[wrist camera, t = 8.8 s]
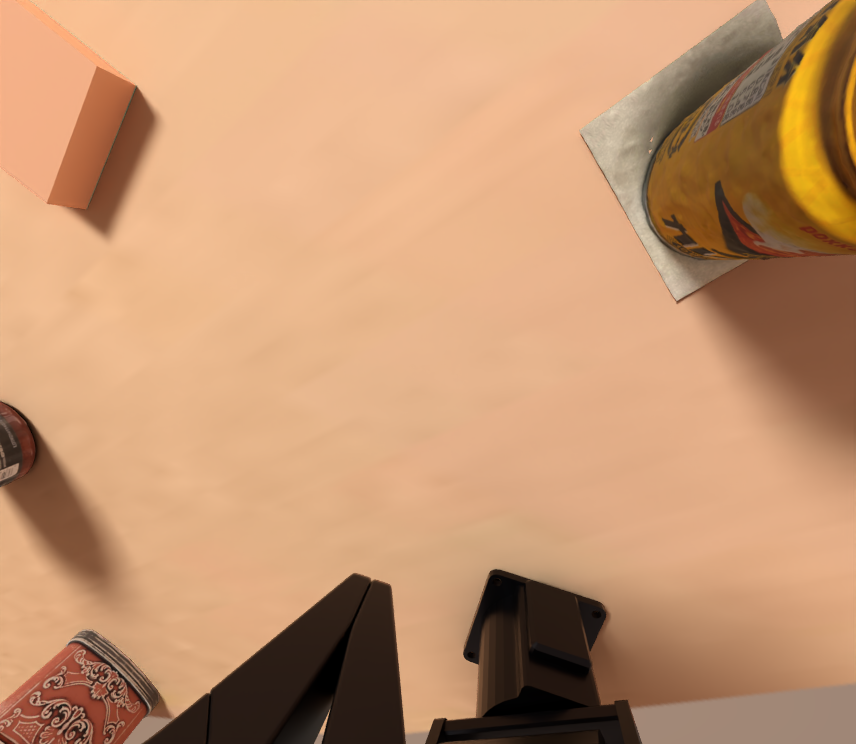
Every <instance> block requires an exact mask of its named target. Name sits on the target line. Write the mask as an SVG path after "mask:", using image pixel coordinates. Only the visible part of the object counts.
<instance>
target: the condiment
mask: <svg viewBox="0 0 856 744" xmlns="http://www.w3.org/2000/svg"><path fill="white" fill-rule="evenodd" d="M579 131H580V133H581V135H582V136H583V138H584V140H585V142H586V143H587V145H588V146H589V148H590V150H591V152H592V154H593V156H594V158H595V160H596V161H597V163H598V165H599V166H600V168H601V169H602V171H603V172H604V174H605V176H606V178H607V180H608V182H609V183H610V185H611V187H612V189H613V191H614V192H615V194H616V196H617V198H618V200H619V202H620V203H621V205H622V207H623V209H624V211H625V212H626V214H627V216H628V218H629V220H630V222H631V224H632V226H633V227H634V229H635V231H636V233H637V234H638V236H639V238H640V240H641V241H642V243H643V245H644V247H645V248H646V250H647V252H648V254H649V255H650V257H651V259H652V261H653V263H654V264H655V266H656V268H657V270H658V271H659V273H660V274H661V276H662V278H663V280H664V282H665V283H666V285H667V287H668V289H669V290H670V292H671V294H672V295H673V297H674V298H675V299H676V301H678V300H680V299H681V298H683V297H685V296H686V295H688V294H690V293H692V292H694V291H695V290H697V289H699V288H701V287H702V286H704V285H706V284H707V283H709V282H711V281H713V280H715V279H716V278H718V277H719V276H721V275H723V274H725V273H727V272H728V271H730V270H732V269H733V268H735V267H737V266H739V265H741V264H743V263H744V262H746V261H748V260H749V259H763V260H765V259H770V258H780V257H805V256H831V255H856V0H832V1H831V2H829V3H828V4H826V5H825V6H824V7H823V8H822V9H821V10H820V11H818V12H816V13H815V14H814V15H813V16H812V17H810V18H809V19H808V20H806V21H805V22H804V23H803V24H801V25H799V26H798V27H797V28H796V29H795V30H794V31H793V32H792V33H791V34H789V35H788V36H787V37H786V38H785V39H784V40H783V39H782V36H781V33H780V30H779V27H778V24H777V21H776V19H775V17H774V15H773V14H772V12H771V10H770V8H769V6H768V4H767V2H766V0H756V1H755V2H753V3H752V4H751V5H749V6H748V7H746V8H745V9H744V10H742V11H741V12H740V13H739V14H737V15H736V16H735V17H733V18H732V19H731V20H729V21H728V22H727V23H725V24H724V25H723V26H721V27H720V28H719V29H717V30H716V31H714V32H713V33H712V34H710V35H709V36H708V37H706V38H705V39H704V40H702V41H701V42H700V43H698V44H697V45H695V46H694V47H693V48H691V49H690V50H689V51H687V52H686V53H685V54H683V55H682V56H681V57H680V58H678V59H677V60H675V61H674V62H672V63H671V64H670V65H668V66H667V67H666V68H664V69H663V70H661V71H660V72H659V73H657V74H656V75H655V76H653V77H652V78H651V79H650V80H649V81H647V82H645V83H644V84H642V85H641V86H640V87H638V88H637V89H635V90H634V91H633V92H632V93H630V94H628V95H627V96H626V97H624V98H623V99H622V100H620V101H619V102H618V103H616V104H615V105H614V106H612V107H611V108H610V109H608V110H607V111H606V112H604V113H602V114H601V115H600V116H598V117H597V118H595V119H594V120H593V121H591V122H590V123H589V124H587V125H586V126H585V127H583V128H582V129H580V130H579ZM652 137H653V141H652V142H650V140H651V138H652ZM651 149H652V151H651V153H650V154H649V150H651Z"/></svg>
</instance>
